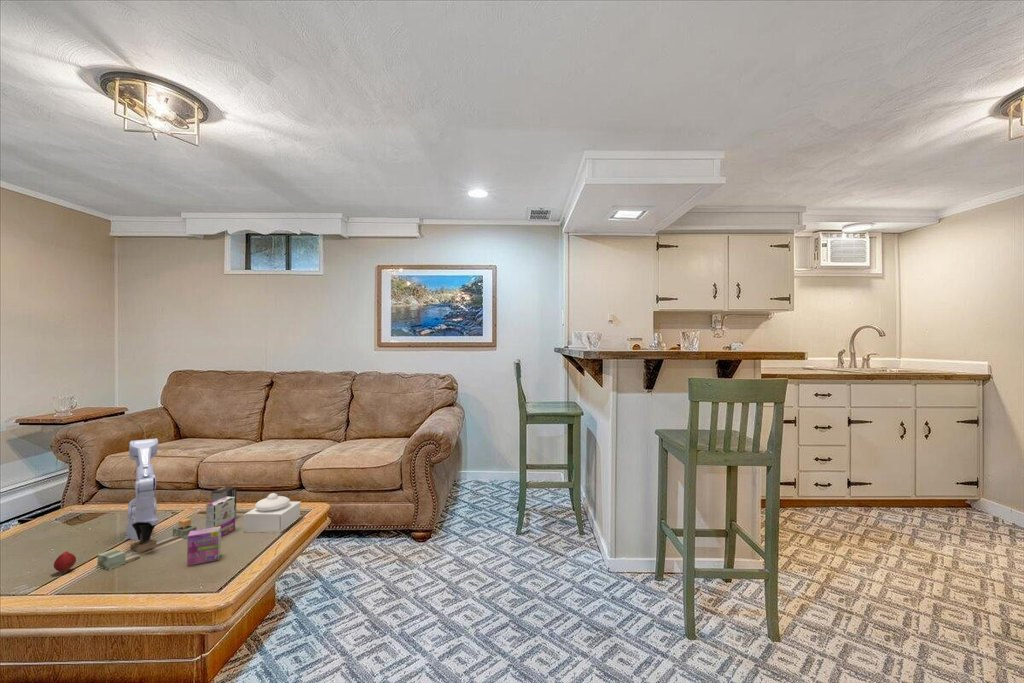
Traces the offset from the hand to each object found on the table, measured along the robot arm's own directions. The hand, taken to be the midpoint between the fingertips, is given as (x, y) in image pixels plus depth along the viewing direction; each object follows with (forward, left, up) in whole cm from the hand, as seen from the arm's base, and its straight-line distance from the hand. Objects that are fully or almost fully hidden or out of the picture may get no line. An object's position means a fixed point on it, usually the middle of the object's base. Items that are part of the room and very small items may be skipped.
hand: (144, 539), depth 178 cm
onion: (-10, -21, -6) cm, 23 cm away
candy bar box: (+14, +22, -6) cm, 27 cm away
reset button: (0, +16, -2) cm, 16 cm away
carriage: (0, 0, -3) cm, 3 cm away
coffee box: (-2, +35, -6) cm, 36 cm away
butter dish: (+25, +40, -6) cm, 48 cm away
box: (+30, +4, -6) cm, 31 cm away
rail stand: (0, +2, -5) cm, 6 cm away
